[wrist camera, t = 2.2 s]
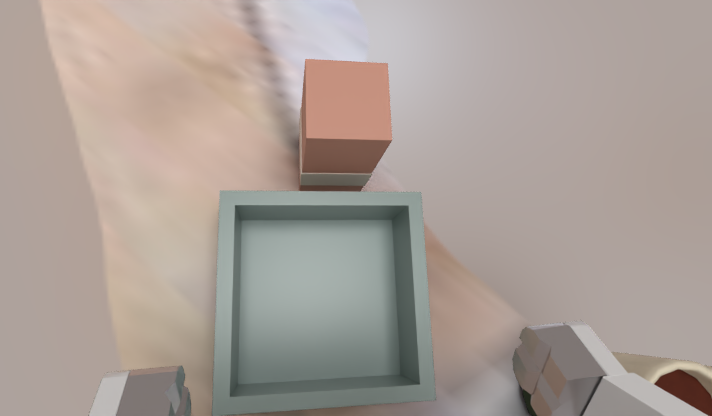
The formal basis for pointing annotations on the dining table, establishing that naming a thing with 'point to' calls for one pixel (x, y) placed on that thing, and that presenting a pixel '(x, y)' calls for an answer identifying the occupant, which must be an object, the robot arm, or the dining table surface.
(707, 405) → the character mug
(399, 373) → the tray
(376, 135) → the salmon pink two-tone box
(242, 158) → the dining table surface
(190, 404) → the robot arm
